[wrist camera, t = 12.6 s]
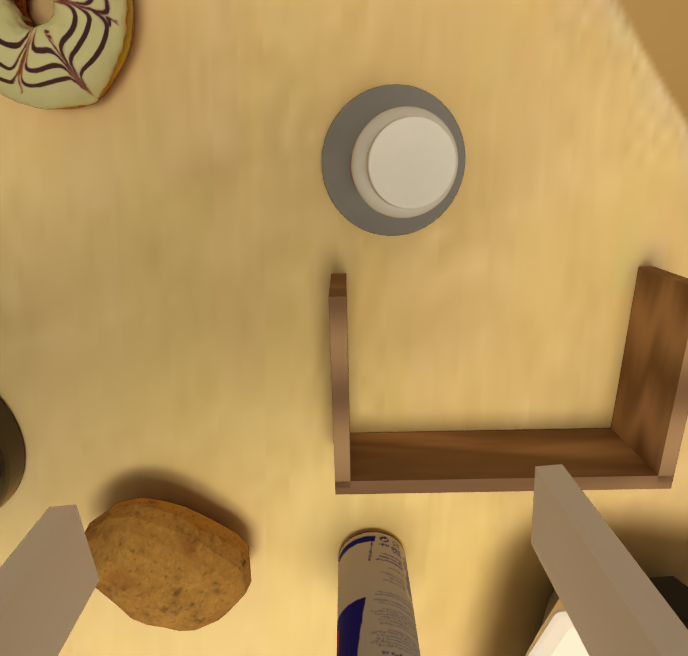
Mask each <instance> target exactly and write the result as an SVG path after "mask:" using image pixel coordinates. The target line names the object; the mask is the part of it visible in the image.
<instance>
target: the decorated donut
mask: <svg viewBox="0 0 688 656" xmlns="http://www.w3.org/2000/svg"><path fill="white" fill-rule="evenodd" d="M26 3H27V2H26V0H0V94H2V95H4V96H5V97H7V98H9V99H12V100H14V101H15V102H18V103H22V104H26V105H29V106H33V107H36V108H41V109H72V108H80V107H83V106H86V105H91V104H93V103H96V102H97V101H98V99H100V98H101V97H102V96H103V95H104V94H105V93H106V92H107V90H108V89H109V87H110V86H111V84H112V83H113V81H114V80H115V78H116V77H117V75H118V73H119V72H120V70H121V69H122V67H123V66H124V63H125V61H126V58H127V55H128V53H129V50H130V47H131V45H132V39H133V35H134V34H133V33H134V11H133V0H54V15H53V16H52V18H51V19H50V20H49V21H48V22H46V23H44V24H42V25H39V26H37V27H34V26H33V22H32V21H31V20H30V18H29V16H28V14H27V11H26V10H27V8H26Z"/></svg>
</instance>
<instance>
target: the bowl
mask: <svg viewBox="0 0 688 656" xmlns="http://www.w3.org/2000/svg"><path fill="white" fill-rule="evenodd" d="M525 656H589V654H588V652H587V650H586V649H585V647H584V645H583V643H582V641H581V639H580V637H579V635H578V633H577V631H576V629H575V627H574V625H573V624H572V622H571V620H570V618H569V616H568V614H567V612H566V610H565V608H564V606H563V604H562V602H561V600H560V599H559V597H558V595H557V593H556V591H555V590H554V591H553V593H552V594H551V596H550V597H549V600H548V604H547V607H546V610H545V614H544V617H543V620H542V624H541V627H540V630H539V632H538V634H537V635H536V637H535V639H534V641H533V643H532V644H531V646H530V648H529V650H528V651H527V653H526V655H525Z"/></svg>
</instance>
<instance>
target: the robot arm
mask: <svg viewBox="0 0 688 656" xmlns="http://www.w3.org/2000/svg"><path fill="white" fill-rule="evenodd" d="M24 466H25V452H24V445H23V440H22V437H21V434H20V431H19V428H18V426H17V424H16V422H15V420H14V418H13V416H12V415H11V413H10V411H9V410H8V408H7V407H6V406H5V404H4V403H3V402H2V401H1V399H0V508H1V507H2V506H3V505H4V504H5V503H6V502H7V501H8V500H9V499H10V498H11V496H12V495H13V494H14V493H15V491H16V489H17V488H18V486H19V484H20V481H21V479H22V476H23V472H24ZM531 545H532V547H533V549H534V551H535V552H536V554H537V556H538V558H539V560H540V562H541V564H542V566H543V568H544V570H545V572H546V574H547V576H548V577H549V579H550V581H551V583H552V585H553V587H554V589H555V591H556V593H557V595H558V597H559V599H560V600H561V602H562V604H563V606H564V608H565V610H566V612H567V614H568V616H569V618H570V620H571V622H572V624H573V625H574V627H575V629H576V631H577V633H578V635H579V637H580V639H581V641H582V643H583V645H584V647H585V649H586V650H587V652H588V654H589V656H688V587H687V586H686V585H685V584H683V583H682V582H680V581H679V580H678V579H676V578H675V577H674V576H669V577H657V578H648V577H647V575H646V574H645V573H644V571H643V570H642V569H641V567H640V566H639V565H638V563H637V562H636V561H635V560H634V558H633V557H632V556H631V554H630V553H629V552H628V550H627V549H626V548H625V546H624V545H623V544H622V542H621V541H620V540H619V538H618V537H617V536H616V535H615V533H614V532H613V531H612V529H611V528H610V527H609V525H608V524H607V523H606V521H605V520H604V519H603V517H602V516H601V515H600V513H599V512H598V511H597V509H596V508H595V507H594V506H593V504H592V503H591V502H590V500H589V499H588V498H587V496H586V495H585V494H584V492H583V491H582V490H581V488H580V487H579V486H578V484H577V483H576V482H575V480H574V479H573V478H572V477H571V475H570V474H569V473H568V471H567V470H566V469H565V467H564V466H563V465H562V464H559V465H547V466H535V481H534V499H533V517H532V535H531ZM98 581H99V577H98V574H97V570H96V567H95V564H94V561H93V558H92V554H91V551H90V548H89V545H88V542H87V538H86V535H85V532H84V529H83V526H82V522H81V519H80V516H79V513H78V510H77V506H76V505H67V506H55V507H49V508H48V509H47V510H46V512H45V513H44V514H43V515H42V517H41V518H40V519H39V520H38V522H37V523H36V524H35V525H34V527H33V528H32V529H31V530H30V531H29V533H28V534H27V535H26V536H25V538H24V539H23V540H22V541H21V543H20V544H19V545H18V546H17V548H16V549H15V550H14V551H13V552H12V554H11V555H10V556H9V557H8V559H7V560H6V561H5V562H4V564H3V565H2V566H1V567H0V656H58V654H59V652H60V651H61V649H62V647H63V645H64V643H65V641H66V640H67V638H68V636H69V634H70V632H71V631H72V629H73V627H74V625H75V623H76V621H77V620H78V618H79V616H80V614H81V612H82V611H83V609H84V607H85V605H86V603H87V601H88V600H89V598H90V596H91V594H92V592H93V591H94V589H95V587H96V585H97V583H98Z"/></svg>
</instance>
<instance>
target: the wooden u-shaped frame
mask: <svg viewBox="0 0 688 656" xmlns="http://www.w3.org/2000/svg"><path fill="white" fill-rule="evenodd" d="M329 319H330V348H331V376H332V405H333V434H334V463H335V491H336V494H385V493H442V492H499V491H534V481H535V466H547V465H559V464H562V465H563V466H564V467H565V469H566V470H567V471H568V473H569V474H570V475H571V477H572V478H573V479H574V480H575V482H576V483H577V484H578V486H579V487H580V488H581V490H613V489H670V488H671V486H672V482H673V477H674V473H675V468H676V464H677V460H678V455H679V451H680V446H681V442H682V438H683V433H684V429H685V424H686V420H687V416H688V278H685V277H682V276H679V275H676V274H673V273H671V272H668V271H665V270H662V269H659V268H656V267H639V269H638V275H637V281H636V287H635V293H634V298H633V304H632V310H631V316H630V322H629V327H628V333H627V339H626V345H625V351H624V356H623V362H622V368H621V374H620V380H619V385H618V391H617V397H616V403H615V409H614V414H613V420H612V426H611V428H593V429H540V430H488V431H435V432H382V433H350V422H349V378H348V334H347V290H346V274H332V275H331V283H330V291H329Z"/></svg>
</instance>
